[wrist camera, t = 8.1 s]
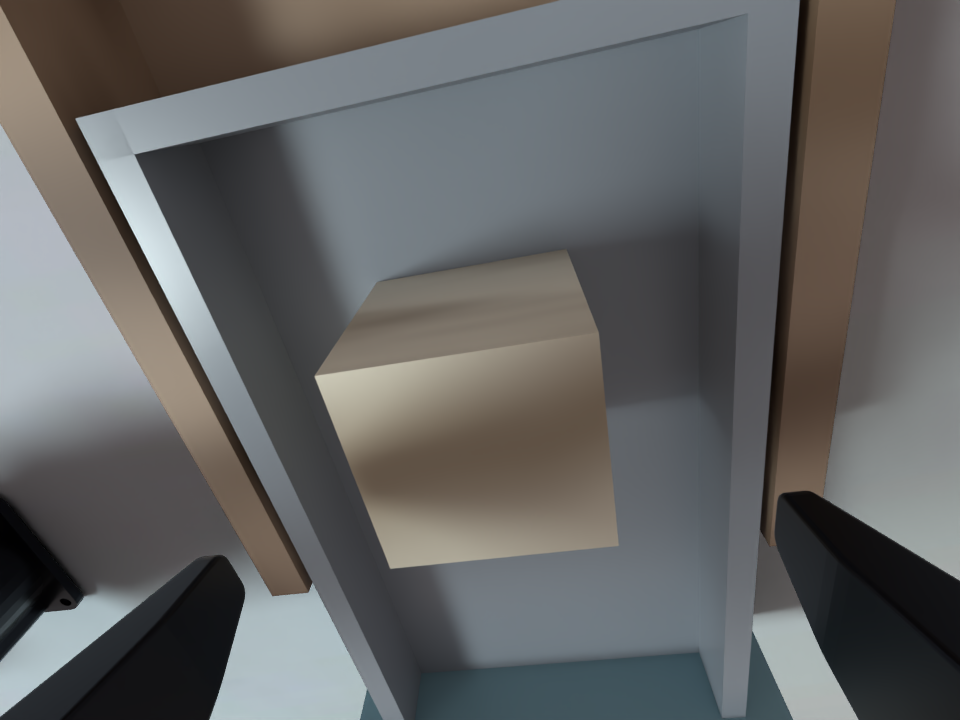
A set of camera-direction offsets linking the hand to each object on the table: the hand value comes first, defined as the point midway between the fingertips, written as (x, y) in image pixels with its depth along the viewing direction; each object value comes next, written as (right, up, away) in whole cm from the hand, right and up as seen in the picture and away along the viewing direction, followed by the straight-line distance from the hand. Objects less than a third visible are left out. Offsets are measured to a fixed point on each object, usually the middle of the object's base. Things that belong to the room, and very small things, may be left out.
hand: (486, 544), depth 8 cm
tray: (+1, 0, +10) cm, 10 cm away
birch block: (0, +3, +6) cm, 7 cm away
